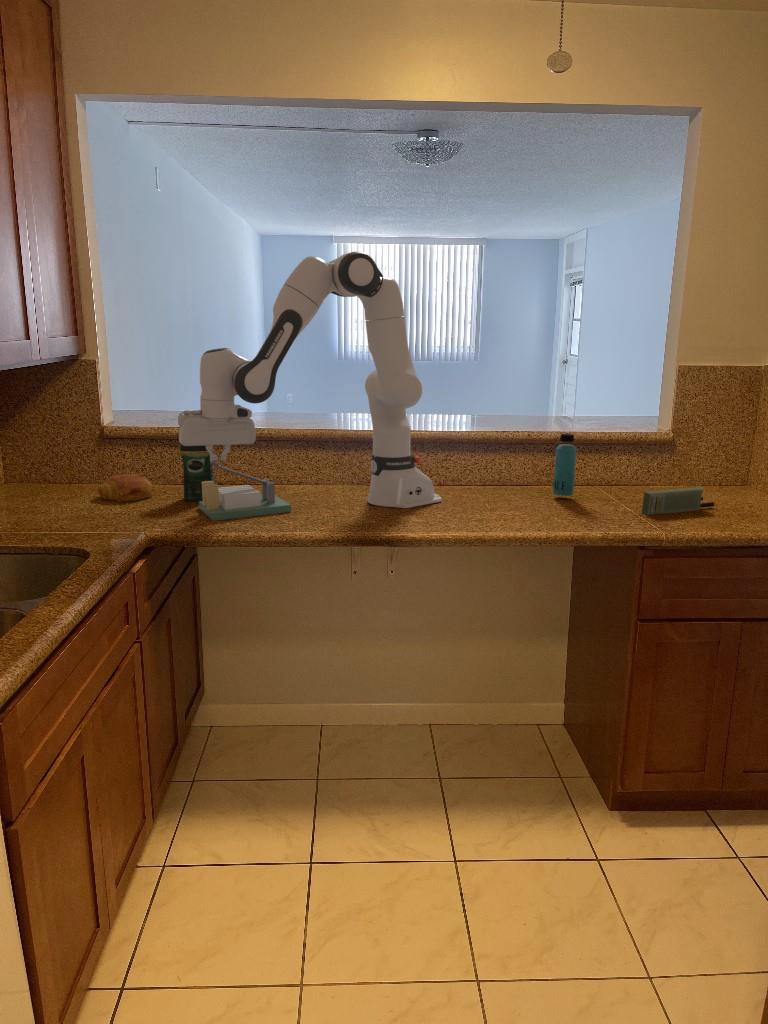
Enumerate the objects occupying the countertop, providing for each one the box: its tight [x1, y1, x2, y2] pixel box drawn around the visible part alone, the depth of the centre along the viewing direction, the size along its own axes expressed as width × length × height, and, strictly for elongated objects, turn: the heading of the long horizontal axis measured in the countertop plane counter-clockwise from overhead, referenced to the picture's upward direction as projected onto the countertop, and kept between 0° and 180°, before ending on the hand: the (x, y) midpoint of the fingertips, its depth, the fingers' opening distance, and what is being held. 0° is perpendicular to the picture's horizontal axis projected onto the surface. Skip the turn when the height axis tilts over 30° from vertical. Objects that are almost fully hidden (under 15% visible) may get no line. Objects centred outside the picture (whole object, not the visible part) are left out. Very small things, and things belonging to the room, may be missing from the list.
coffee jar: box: [179, 443, 216, 502], centre depth 205 cm, size 10×8×19 cm
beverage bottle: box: [552, 433, 578, 497], centre depth 211 cm, size 6×7×20 cm
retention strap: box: [210, 461, 272, 486], centre depth 192 cm, size 18×3×2 cm, turn 119°
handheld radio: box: [641, 486, 715, 516], centre depth 199 cm, size 7×3×25 cm
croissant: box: [98, 473, 153, 503], centre depth 209 cm, size 14×16×8 cm
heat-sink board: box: [198, 479, 292, 522], centre depth 194 cm, size 22×15×9 cm
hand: (218, 461), depth 188 cm, fingers closed
